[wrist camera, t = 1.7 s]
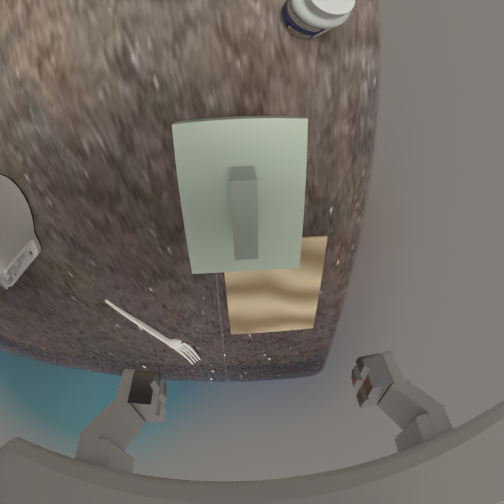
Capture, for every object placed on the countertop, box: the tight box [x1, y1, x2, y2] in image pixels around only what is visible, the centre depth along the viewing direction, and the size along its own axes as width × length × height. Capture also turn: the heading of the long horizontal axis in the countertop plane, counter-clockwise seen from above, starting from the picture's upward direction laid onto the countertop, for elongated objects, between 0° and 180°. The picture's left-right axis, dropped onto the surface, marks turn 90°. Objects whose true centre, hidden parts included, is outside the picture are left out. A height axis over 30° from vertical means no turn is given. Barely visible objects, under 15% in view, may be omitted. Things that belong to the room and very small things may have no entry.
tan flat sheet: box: [224, 235, 327, 334], centre depth 41 cm, size 18×14×1 cm
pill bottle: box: [280, 0, 355, 39], centre depth 18 cm, size 5×5×10 cm
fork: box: [105, 299, 200, 364], centre depth 45 cm, size 3×20×2 cm, turn 44°
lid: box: [172, 116, 308, 274], centre depth 25 cm, size 15×11×6 cm
